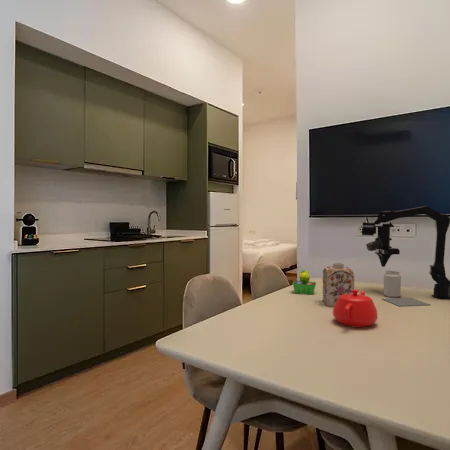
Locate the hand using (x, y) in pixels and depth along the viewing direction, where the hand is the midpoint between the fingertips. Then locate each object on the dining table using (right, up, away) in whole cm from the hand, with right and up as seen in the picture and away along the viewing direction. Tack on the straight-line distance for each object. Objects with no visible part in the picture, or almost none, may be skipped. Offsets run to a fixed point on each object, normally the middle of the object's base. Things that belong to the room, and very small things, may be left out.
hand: (383, 266), depth 179 cm
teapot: (-32, -15, -49) cm, 60 cm away
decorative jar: (-30, -14, -21) cm, 39 cm away
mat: (+1, -14, -19) cm, 24 cm away
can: (+1, -14, -8) cm, 16 cm away
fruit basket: (-40, -14, +1) cm, 42 cm away
